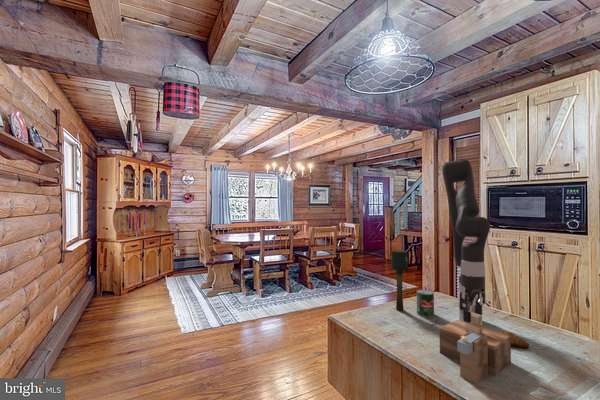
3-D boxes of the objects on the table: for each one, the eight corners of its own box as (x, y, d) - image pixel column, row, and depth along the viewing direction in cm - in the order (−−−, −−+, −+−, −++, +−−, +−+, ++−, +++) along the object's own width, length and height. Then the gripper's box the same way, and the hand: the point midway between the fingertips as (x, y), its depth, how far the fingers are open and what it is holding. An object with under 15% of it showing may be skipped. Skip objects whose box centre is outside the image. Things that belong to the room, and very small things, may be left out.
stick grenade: (410, 313, 148) (409, 252, 148) (391, 312, 149) (391, 252, 150) (407, 307, 156) (406, 249, 156) (390, 306, 158) (389, 249, 158)
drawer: (472, 341, 98) (472, 328, 98) (482, 345, 95) (482, 331, 95) (457, 350, 92) (457, 337, 92) (467, 354, 90) (467, 340, 90)
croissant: (485, 341, 118) (485, 328, 118) (489, 335, 123) (488, 323, 123) (527, 352, 109) (527, 339, 109) (530, 346, 114) (530, 333, 114)
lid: (457, 322, 117) (457, 304, 117) (510, 338, 103) (509, 318, 103) (440, 330, 109) (439, 311, 109) (494, 350, 95) (494, 327, 95)
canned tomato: (425, 310, 152) (424, 288, 152) (437, 315, 145) (437, 292, 145) (413, 312, 149) (412, 290, 149) (425, 318, 142) (425, 294, 142)
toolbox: (457, 342, 117) (457, 310, 117) (510, 362, 103) (510, 325, 103) (426, 360, 104) (425, 324, 104) (482, 386, 90) (481, 344, 90)
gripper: (471, 268, 113) (471, 311, 113) (451, 274, 105) (452, 320, 105) (493, 272, 107) (493, 318, 107) (474, 278, 99) (474, 327, 99)
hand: (473, 319), depth 106 cm, fingers open, 8 cm apart
